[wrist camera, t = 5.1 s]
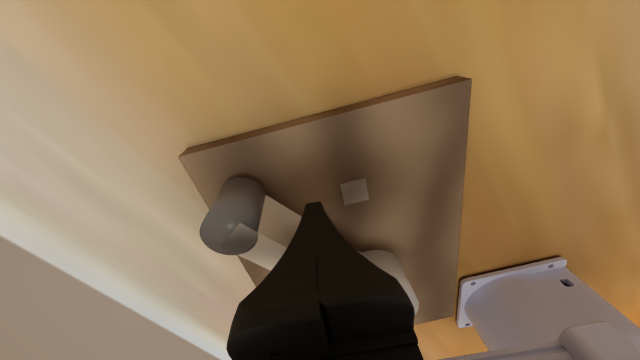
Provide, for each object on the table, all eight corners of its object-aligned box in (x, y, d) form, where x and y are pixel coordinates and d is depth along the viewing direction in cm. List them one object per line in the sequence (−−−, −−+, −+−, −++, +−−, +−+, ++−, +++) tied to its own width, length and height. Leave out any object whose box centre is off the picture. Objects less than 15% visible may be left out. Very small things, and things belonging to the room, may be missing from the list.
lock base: (458, 76, 13) (475, 79, 12) (446, 304, 24) (455, 319, 23) (186, 148, 14) (175, 159, 13) (294, 338, 25) (294, 354, 24)
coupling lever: (411, 266, 18) (432, 306, 15) (370, 296, 19) (382, 338, 17) (244, 156, 13) (229, 188, 10) (203, 210, 14) (180, 250, 11)
